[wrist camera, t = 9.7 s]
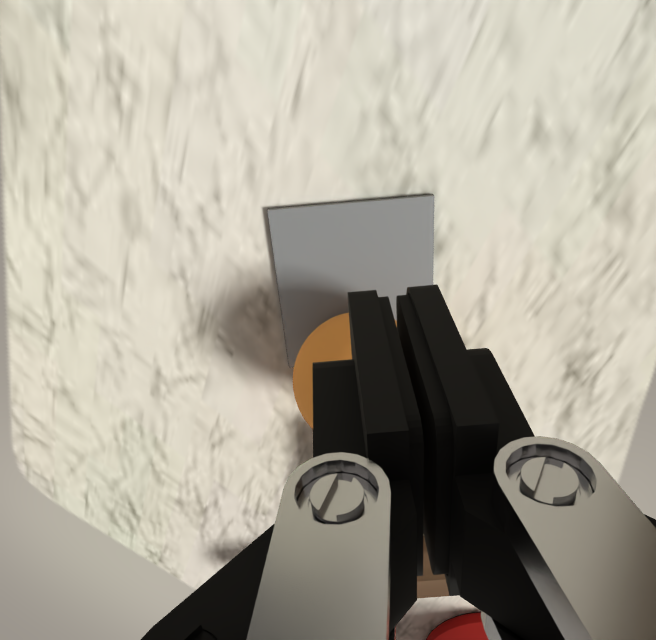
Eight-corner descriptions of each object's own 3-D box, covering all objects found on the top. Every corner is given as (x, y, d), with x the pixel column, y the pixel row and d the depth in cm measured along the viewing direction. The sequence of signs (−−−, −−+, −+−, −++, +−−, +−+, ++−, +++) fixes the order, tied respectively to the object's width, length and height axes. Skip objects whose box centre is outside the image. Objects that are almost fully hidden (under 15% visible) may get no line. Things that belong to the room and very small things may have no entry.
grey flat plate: (267, 208, 24) (267, 210, 24) (433, 194, 24) (434, 195, 24) (289, 365, 28) (289, 367, 28) (431, 353, 28) (432, 355, 28)
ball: (298, 474, 25) (302, 364, 29) (432, 471, 25) (419, 360, 29) (280, 407, 21) (288, 285, 24) (445, 401, 20) (427, 279, 24)
